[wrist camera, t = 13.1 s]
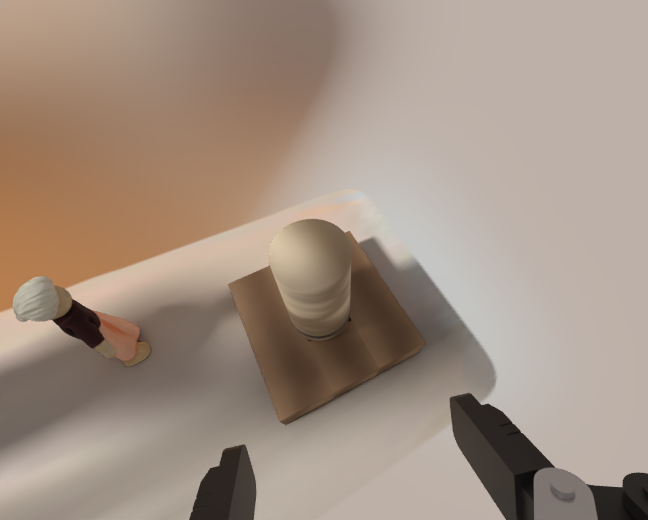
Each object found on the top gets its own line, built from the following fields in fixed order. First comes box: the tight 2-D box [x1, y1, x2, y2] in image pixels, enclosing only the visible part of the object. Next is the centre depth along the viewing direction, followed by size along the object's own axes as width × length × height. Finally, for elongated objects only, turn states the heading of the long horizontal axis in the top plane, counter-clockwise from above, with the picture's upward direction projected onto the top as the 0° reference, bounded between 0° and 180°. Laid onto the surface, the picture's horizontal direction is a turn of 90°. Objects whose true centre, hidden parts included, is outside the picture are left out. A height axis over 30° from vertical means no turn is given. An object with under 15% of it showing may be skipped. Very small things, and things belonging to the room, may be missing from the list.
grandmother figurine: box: [13, 276, 151, 367], centre depth 28 cm, size 8×4×13 cm, turn 63°
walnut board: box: [228, 231, 426, 425], centre depth 32 cm, size 14×14×3 cm
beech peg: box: [268, 219, 352, 342], centre depth 27 cm, size 6×6×13 cm
